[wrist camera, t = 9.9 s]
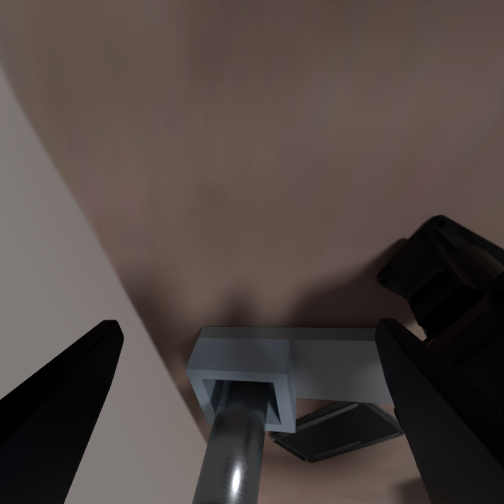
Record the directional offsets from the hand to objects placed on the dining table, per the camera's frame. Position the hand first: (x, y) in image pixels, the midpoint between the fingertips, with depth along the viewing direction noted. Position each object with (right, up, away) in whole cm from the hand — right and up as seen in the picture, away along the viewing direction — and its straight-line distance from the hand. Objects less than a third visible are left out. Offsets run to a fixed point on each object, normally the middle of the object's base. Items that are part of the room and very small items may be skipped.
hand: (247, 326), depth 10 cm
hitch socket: (+5, -8, +19) cm, 21 cm away
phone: (+10, -19, +25) cm, 33 cm away
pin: (0, -9, +18) cm, 21 cm away
